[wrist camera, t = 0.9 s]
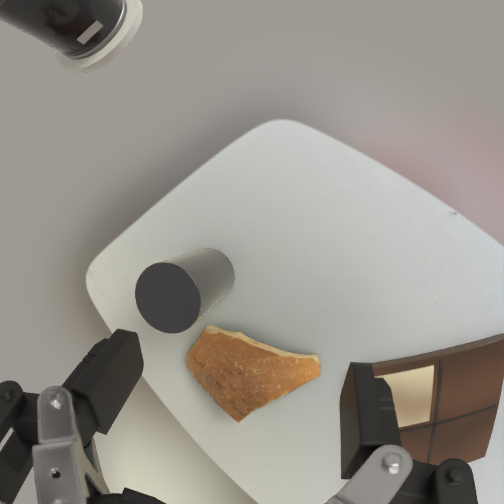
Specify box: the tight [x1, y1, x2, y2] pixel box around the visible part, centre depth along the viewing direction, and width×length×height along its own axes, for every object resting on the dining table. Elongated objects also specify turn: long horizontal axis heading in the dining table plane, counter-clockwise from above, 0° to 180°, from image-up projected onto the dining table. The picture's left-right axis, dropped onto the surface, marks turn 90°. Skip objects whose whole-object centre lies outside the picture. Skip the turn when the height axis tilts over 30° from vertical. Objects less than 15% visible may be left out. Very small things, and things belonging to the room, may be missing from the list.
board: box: [372, 334, 504, 466], centre depth 26 cm, size 16×16×1 cm
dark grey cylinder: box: [135, 249, 234, 333], centre depth 24 cm, size 5×5×9 cm
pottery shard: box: [187, 325, 320, 422], centre depth 28 cm, size 10×9×2 cm
